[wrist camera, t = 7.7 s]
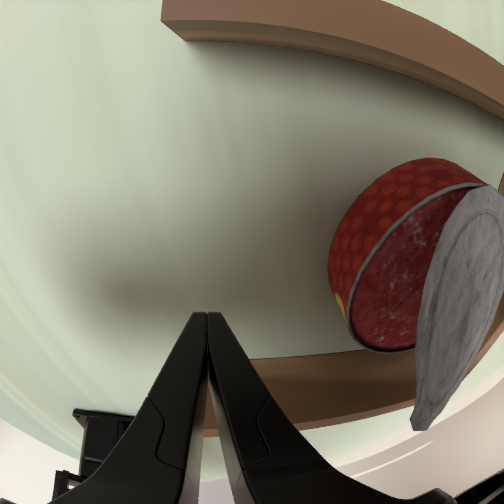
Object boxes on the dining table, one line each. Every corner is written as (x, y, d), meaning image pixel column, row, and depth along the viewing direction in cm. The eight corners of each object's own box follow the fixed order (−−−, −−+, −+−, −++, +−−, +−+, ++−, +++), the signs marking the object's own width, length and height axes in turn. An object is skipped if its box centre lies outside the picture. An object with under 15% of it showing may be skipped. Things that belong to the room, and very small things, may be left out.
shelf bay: (427, 347, 20) (451, 392, 16) (191, 371, 17) (191, 436, 14) (529, 114, 10) (587, 144, 6) (186, 8, 7) (166, -31, 3)
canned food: (312, 166, 16) (382, 109, 6) (458, 173, 16) (577, 158, 6) (314, 360, 17) (357, 482, 8) (450, 339, 17) (541, 409, 7)
